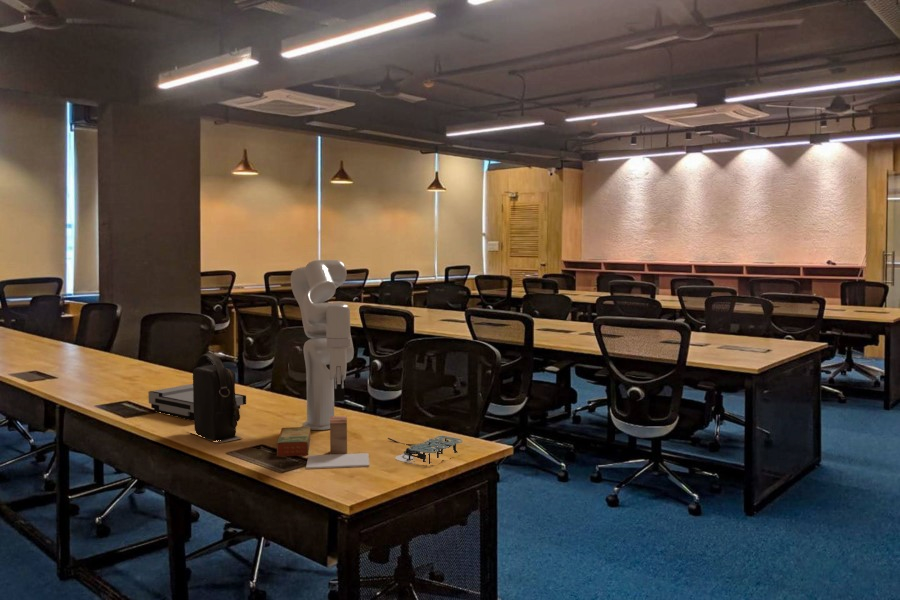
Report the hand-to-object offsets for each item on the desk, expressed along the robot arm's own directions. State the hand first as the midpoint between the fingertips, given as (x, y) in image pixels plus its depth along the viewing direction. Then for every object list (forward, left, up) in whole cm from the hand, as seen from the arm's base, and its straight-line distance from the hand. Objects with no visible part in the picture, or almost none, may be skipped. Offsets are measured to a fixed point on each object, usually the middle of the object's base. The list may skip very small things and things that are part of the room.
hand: (339, 400), depth 229 cm
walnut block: (+8, 0, -15) cm, 17 cm away
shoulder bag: (-19, -43, -15) cm, 49 cm away
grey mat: (+17, 0, -15) cm, 23 cm away
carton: (0, -14, -15) cm, 21 cm away
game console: (-56, -55, -15) cm, 80 cm away
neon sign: (+9, +23, -15) cm, 29 cm away
